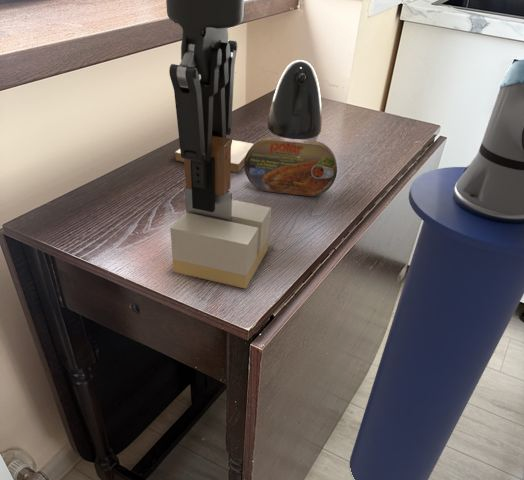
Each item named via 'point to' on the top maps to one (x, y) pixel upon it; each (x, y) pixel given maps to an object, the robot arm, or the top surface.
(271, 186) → the tin
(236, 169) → the board
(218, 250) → the slotted card holder
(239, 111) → the top surface
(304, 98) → the black white dome
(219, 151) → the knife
